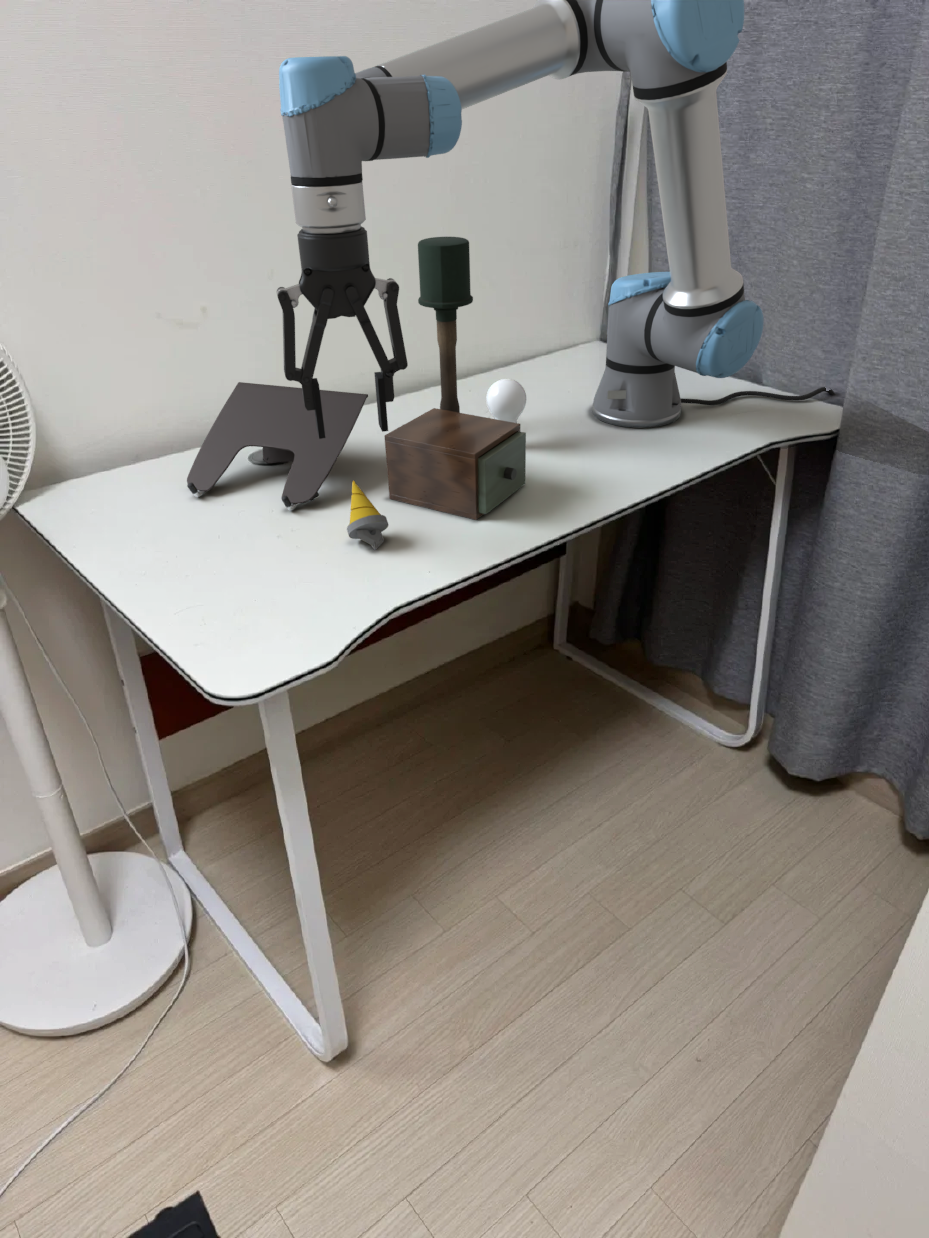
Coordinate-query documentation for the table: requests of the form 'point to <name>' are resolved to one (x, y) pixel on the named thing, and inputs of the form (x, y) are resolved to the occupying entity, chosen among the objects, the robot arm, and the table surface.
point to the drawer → (501, 471)
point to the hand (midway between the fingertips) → (352, 430)
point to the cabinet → (442, 459)
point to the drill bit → (365, 519)
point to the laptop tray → (278, 436)
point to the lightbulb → (506, 400)
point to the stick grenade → (445, 301)
